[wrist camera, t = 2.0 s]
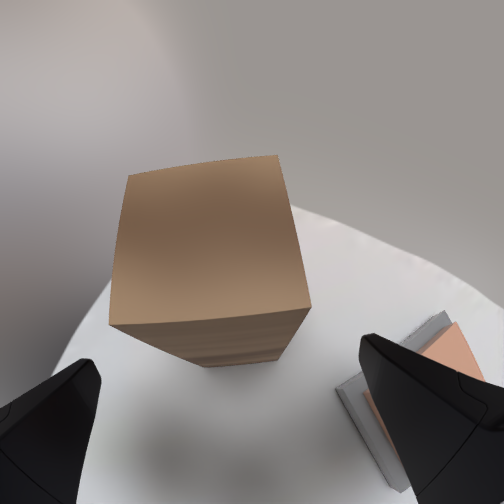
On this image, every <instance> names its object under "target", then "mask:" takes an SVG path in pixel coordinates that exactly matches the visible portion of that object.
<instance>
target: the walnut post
mask: <svg viewBox="0 0 504 504" xmlns="http://www.w3.org/2000/svg"><path fill="white" fill-rule="evenodd" d="M311 307H312V306H311V301H310V296H309V291H308V285H307V280H306V276H305V271H304V266H303V261H302V256H301V252H300V247H299V242H298V238H297V233H296V229H295V224H294V220H293V216H292V211H291V207H290V203H289V199H288V195H287V191H286V187H285V182H284V179H283V174H282V171H281V167H280V163H279V159H278V155H273V156H260V157H248V158H238V159H229V160H221V161H213V162H206V163H198V164H191V165H184V166H179V167H172V168H166V169H161V170H156V171H149V172H144V173H139V174H134V175H129V176H128V181H127V185H126V190H125V195H124V200H123V206H122V210H121V216H120V221H119V227H118V234H117V241H116V248H115V255H114V263H113V273H112V282H111V294H110V309H109V325H110V326H112V327H114V328H116V329H118V330H120V331H122V332H124V333H126V334H128V335H130V336H132V337H134V338H136V339H138V340H140V341H142V342H145V343H147V344H149V345H151V346H153V347H156V348H158V349H160V350H162V351H165V352H167V353H169V354H172V355H174V356H177V357H179V358H181V359H184V360H186V361H189V362H191V363H194V364H197V365H199V366H202V367H219V366H231V365H242V364H252V363H260V362H269V361H276V360H278V359H279V357H280V356H281V354H282V353H283V351H284V350H285V348H286V347H287V345H288V344H289V342H290V341H291V339H292V338H293V336H294V335H295V333H296V331H297V330H298V328H299V327H300V325H301V323H302V322H303V320H304V319H305V317H306V315H307V314H308V312H309V311H310V309H311Z"/></svg>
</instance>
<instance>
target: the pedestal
mask: <svg viewBox="0 0 504 504" xmlns="http://www.w3.org/2000/svg"><path fill="white" fill-rule="evenodd" d="M399 345H401V346H403V347H405V348H407V349H410V350H412V351H414V352H416V353H418V354H421V355H423V356H425V357H427V358H430V359H432V360H434V361H436V362H439V363H441V364H443V365H445V366H448V367H450V368H452V369H454V370H456V371H457V372H458V371H459V372H461V373H464V374H466V375H468V376H471V377H473V378H476V379H478V380H481V381H484V382H485V380H484V377H483V375H482V373H481V371H480V368H479V366H478V364H477V362H476V360H475V358H474V355H473V353H472V351H471V349H470V347H469V345H468V343H467V341H466V339H465V337H464V335H463V334H462V332H461V330H460V328H459V326H458V324H457V322H454V323H452V322H451V320H450V319H449V317H448V315H447V313H446V312H445V310H444V311H442V312H440V313H438V314H437V315H435V316H433V317H432V318H431V319H430V320H428V321H427V322H426V323H425V324H424V325H423V326H421V327H420V328H419V329H418V330H417V331H416V332H414V333H413V334H412V335H411V336H409V337H408V338H407V339H406V340H404V341H403V342H402V343H401V344H399ZM336 391H337V393H338V394H339V396H340V398H341V400H342V401H343V403H344V405H345V407H346V409H347V410H348V412H349V414H350V416H351V417H352V419H353V421H354V423H355V425H356V426H357V428H358V430H359V432H360V433H361V435H362V437H363V439H364V441H365V442H366V444H367V446H368V448H369V450H370V451H371V453H372V455H373V457H374V459H375V460H376V462H377V464H378V466H379V467H380V469H381V471H382V473H383V475H384V476H385V478H386V480H387V482H388V484H389V486H390V487H391V488H393V489H394V490H396V491H398V492H399V493H402V492H403V491H404V490H406V489H407V488H408V487H410V486H411V484H410V481H409V479H408V477H407V474H406V472H405V470H404V467H403V465H402V463H401V460H400V458H399V456H398V454H397V451H396V449H395V447H394V445H393V443H392V440H391V438H390V436H389V434H388V432H387V429H386V427H385V425H384V423H383V421H382V419H381V417H380V414H379V412H378V410H377V408H376V406H375V404H374V402H373V399H372V397H371V394H370V391H369V388H368V385H367V382H366V380H365V377H364V374H363V371H362V372H361V373H359V374H358V375H356V376H355V377H353V378H352V379H350V380H348V381H347V382H345V383H344V384H342V385H341V386H339V387H337V388H336Z"/></svg>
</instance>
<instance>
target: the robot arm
mask: <svg viewBox="0 0 504 504" xmlns="http://www.w3.org/2000/svg"><path fill="white" fill-rule="evenodd" d="M359 362H360V365H361V368H362V371H363V374H364V377H365V380H366V382H367V385H368V388H369V391H370V394H371V397H372V399H373V402H374V404H375V406H376V408H377V410H378V412H379V414H380V417H381V419H382V421H383V423H384V425H385V427H386V429H387V432H388V434H389V436H390V438H391V440H392V443H393V445H394V447H395V449H396V451H397V454H398V456H399V458H400V460H401V463H402V465H403V467H404V470H405V472H406V474H407V477H408V479H409V481H410V484H411V486H412V489H413V491H414V493H415V496H417V497H416V499H417V501H418V504H504V388H503V387H499V386H496V385H493V384H490V383H487V382H484V381H481V380H478V379H476V378H473V377H471V376H468V375H466V374H464V373H461V372H459V371H458V372H457V371H456V370H454V369H452V368H450V367H448V366H445V365H443V364H441V363H439V362H436V361H434V360H432V359H430V358H427V357H425V356H423V355H421V354H418V353H416V352H414V351H412V350H410V349H407V348H405V347H403V346H401V345H399V344H396V343H394V342H392V341H390V340H388V339H386V338H383V337H381V336H379V335H377V334H375V333H371V334H367V335H363V336H362V338H361V342H360V349H359ZM100 388H101V376H100V374H99V372H98V370H97V368H96V366H95V364H94V362H93V361H92V360H91V359H86V358H82V359H79V360H78V361H76V362H74V363H73V364H71V365H70V366H68V367H66V368H65V369H63V370H62V371H60V372H58V373H57V374H55V375H54V376H52V377H50V378H49V379H48V380H46V381H44V382H42V383H41V384H39V385H38V386H36V387H34V388H33V389H31V390H29V391H28V392H26V393H25V394H23V395H21V396H20V397H18V398H17V399H15V400H13V401H12V402H10V403H9V404H7V405H5V406H4V407H2V408H0V504H76V501H77V494H78V489H79V483H80V478H81V473H82V468H83V464H84V459H85V455H86V451H87V446H88V442H89V438H90V435H91V431H92V427H93V423H94V419H95V415H96V409H97V404H98V398H99V393H100Z"/></svg>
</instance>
